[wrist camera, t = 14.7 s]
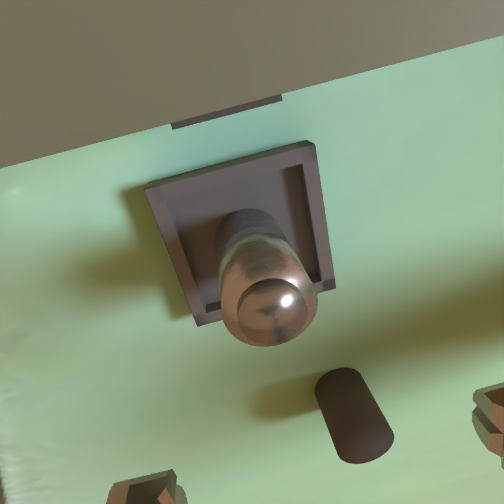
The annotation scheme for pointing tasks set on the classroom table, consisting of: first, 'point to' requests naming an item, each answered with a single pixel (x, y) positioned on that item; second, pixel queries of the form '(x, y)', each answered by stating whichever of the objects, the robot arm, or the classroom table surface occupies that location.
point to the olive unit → (197, 58)
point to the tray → (236, 198)
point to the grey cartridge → (261, 280)
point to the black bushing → (353, 416)
